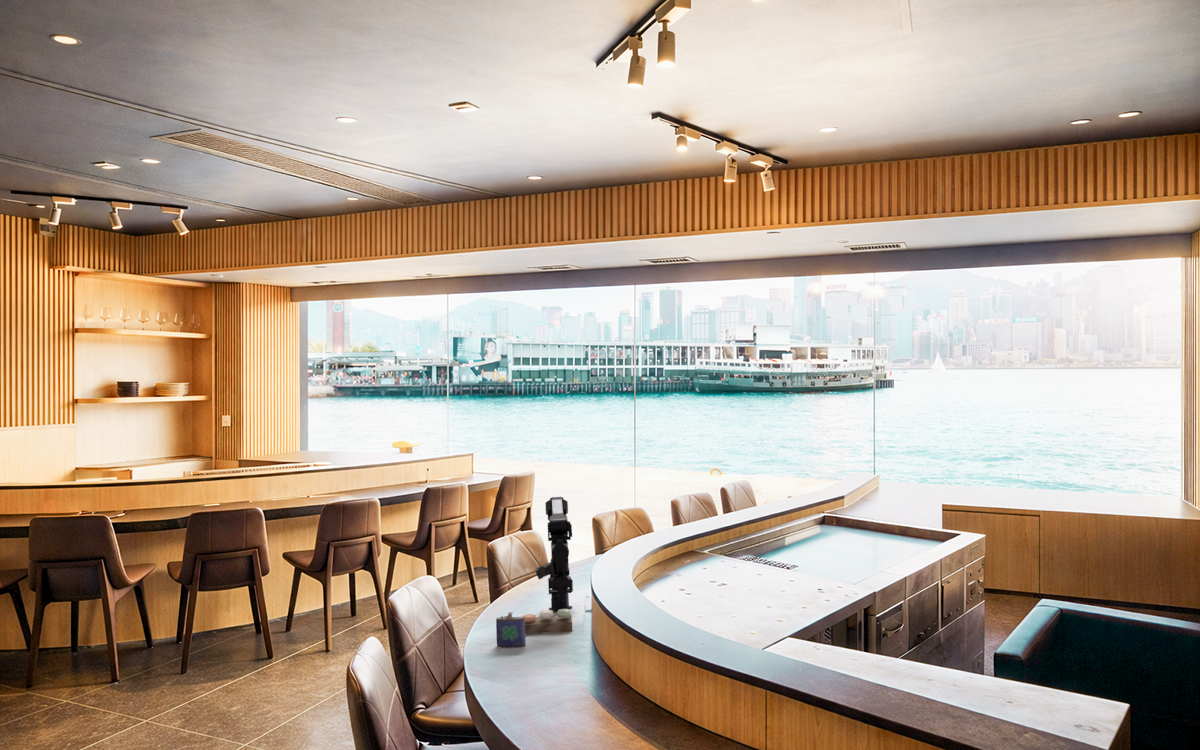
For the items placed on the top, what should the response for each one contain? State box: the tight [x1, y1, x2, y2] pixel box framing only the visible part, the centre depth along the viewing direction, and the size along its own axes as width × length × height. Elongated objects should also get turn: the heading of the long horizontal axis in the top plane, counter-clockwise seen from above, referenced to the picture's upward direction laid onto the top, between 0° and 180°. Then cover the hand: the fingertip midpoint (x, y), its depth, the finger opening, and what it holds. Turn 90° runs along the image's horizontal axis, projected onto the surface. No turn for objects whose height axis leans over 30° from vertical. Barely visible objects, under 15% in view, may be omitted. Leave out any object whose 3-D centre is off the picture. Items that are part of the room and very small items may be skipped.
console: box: [525, 615, 573, 635], centre depth 244 cm, size 17×8×3 cm, turn 94°
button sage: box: [557, 608, 572, 617], centre depth 245 cm, size 4×4×2 cm
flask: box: [495, 611, 526, 649], centre depth 228 cm, size 9×3×11 cm, turn 87°
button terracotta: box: [521, 613, 536, 623], centre depth 244 cm, size 4×4×2 cm
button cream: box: [539, 609, 554, 619], centre depth 244 cm, size 4×4×2 cm
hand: (561, 601), depth 245 cm, fingers closed
